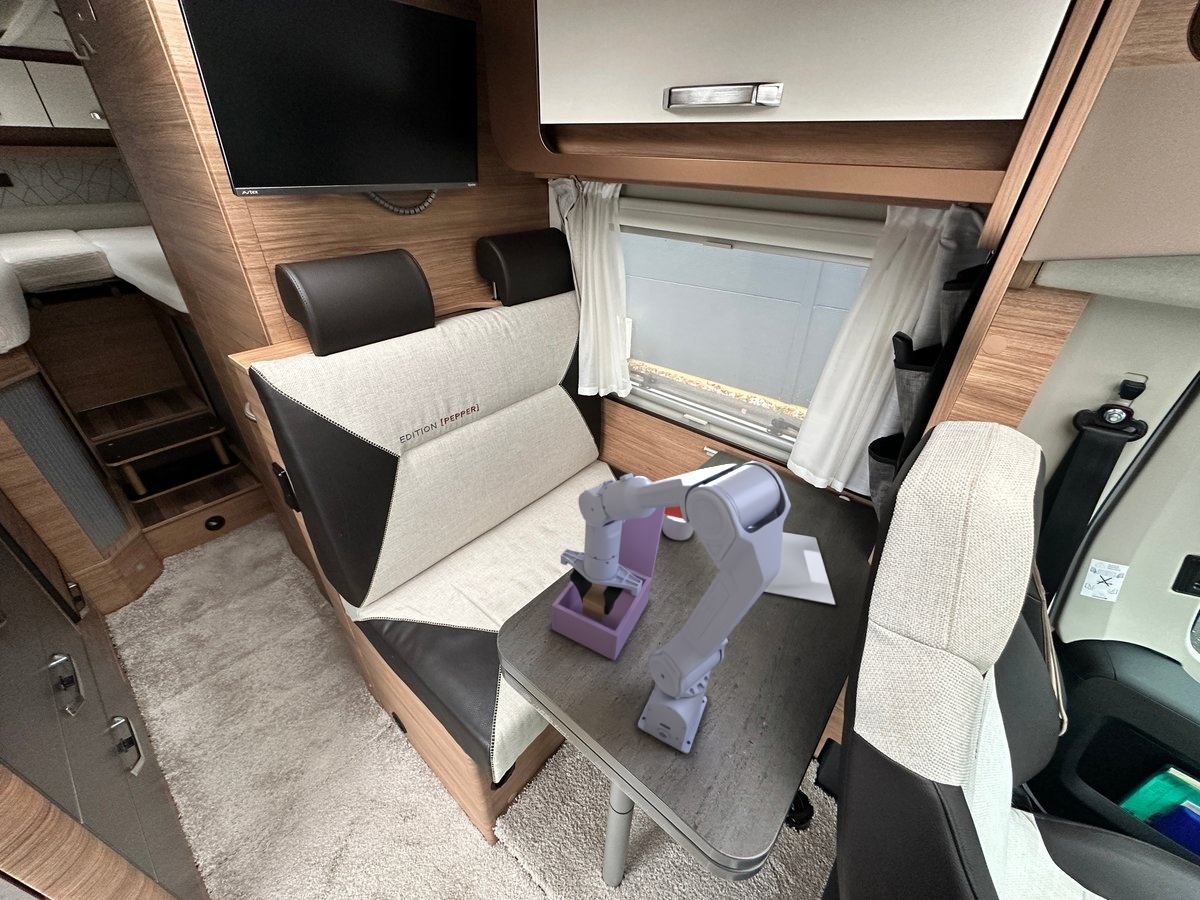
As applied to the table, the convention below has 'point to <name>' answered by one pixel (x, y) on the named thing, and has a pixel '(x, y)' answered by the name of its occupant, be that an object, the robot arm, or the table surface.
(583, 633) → the open box
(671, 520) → the candle
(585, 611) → the block
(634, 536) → the purple box lid
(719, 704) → the table surface
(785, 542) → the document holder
